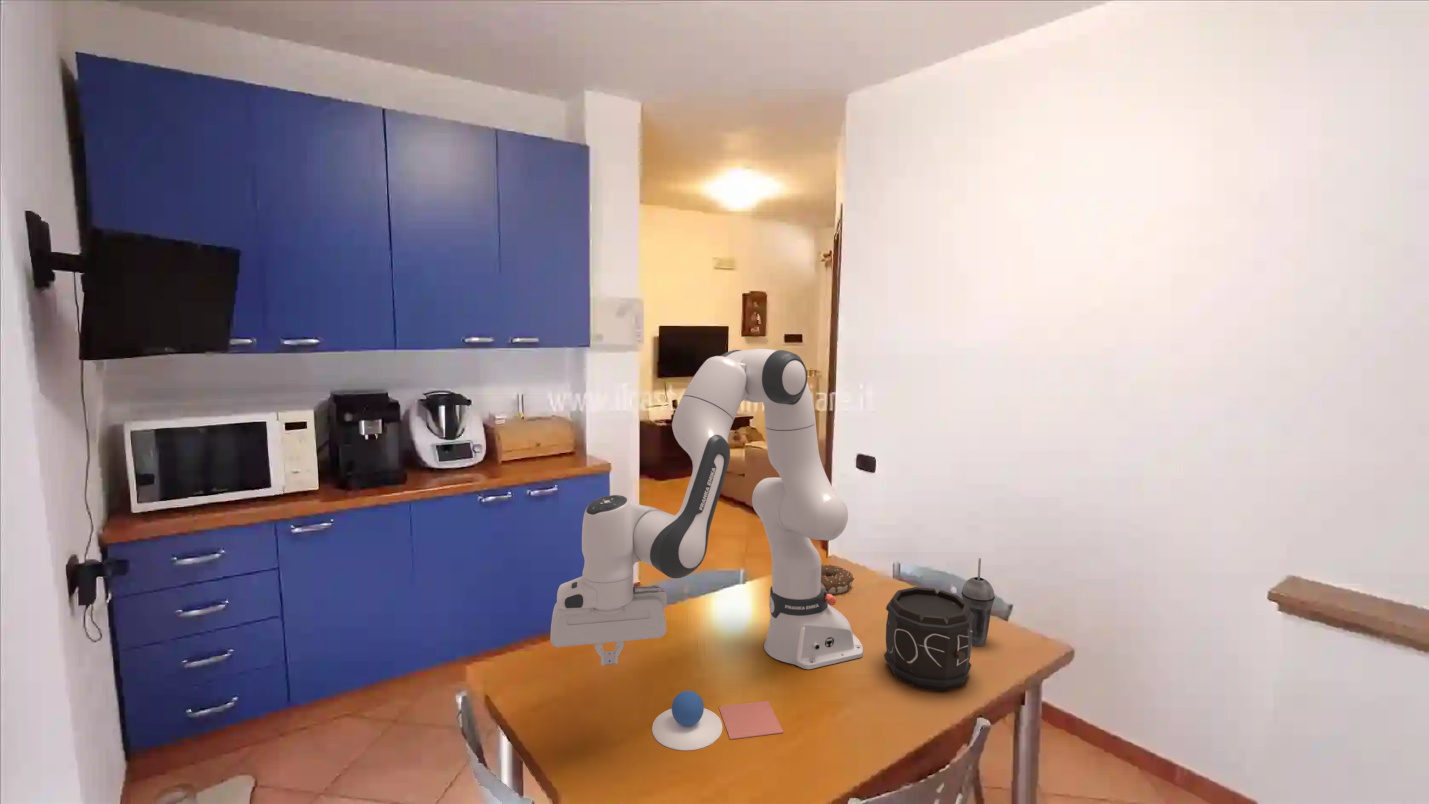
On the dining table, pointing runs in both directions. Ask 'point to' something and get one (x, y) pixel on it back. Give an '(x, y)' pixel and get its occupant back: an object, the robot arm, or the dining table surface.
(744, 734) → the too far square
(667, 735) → the disc
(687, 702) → the ball
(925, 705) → the dining table surface
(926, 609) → the wooden barrel
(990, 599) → the beverage cup
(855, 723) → the dining table surface
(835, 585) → the donut
